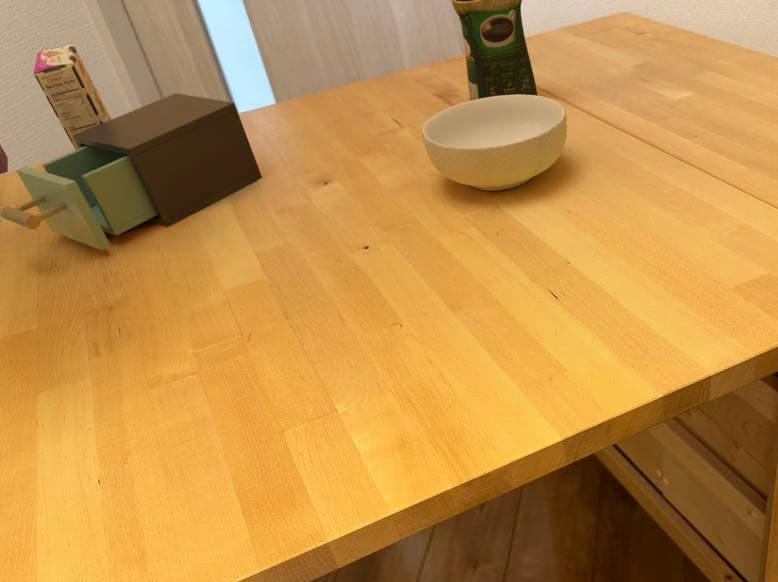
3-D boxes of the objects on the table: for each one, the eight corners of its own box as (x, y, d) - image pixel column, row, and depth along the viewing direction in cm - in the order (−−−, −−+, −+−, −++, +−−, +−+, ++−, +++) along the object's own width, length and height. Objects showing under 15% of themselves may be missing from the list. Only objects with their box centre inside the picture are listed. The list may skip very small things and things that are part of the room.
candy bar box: (97, 170, 111) (35, 51, 100) (132, 160, 112) (75, 42, 102) (97, 197, 103) (30, 71, 92) (136, 186, 104) (74, 60, 93)
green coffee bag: (528, 89, 114) (510, -52, 103) (543, 105, 108) (525, -43, 97) (466, 103, 113) (440, -38, 101) (477, 120, 107) (451, -28, 95)
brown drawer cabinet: (167, 227, 92) (129, 149, 86) (111, 209, 99) (72, 135, 93) (262, 177, 101) (234, 102, 95) (205, 163, 107) (175, 93, 101)
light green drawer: (62, 270, 85) (23, 204, 80) (14, 249, 91) (-26, 187, 86) (199, 199, 95) (172, 137, 90) (148, 185, 101) (120, 126, 96)
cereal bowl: (590, 187, 86) (585, 125, 82) (448, 222, 84) (435, 160, 80) (548, 137, 99) (541, 81, 95) (423, 166, 97) (410, 111, 92)
